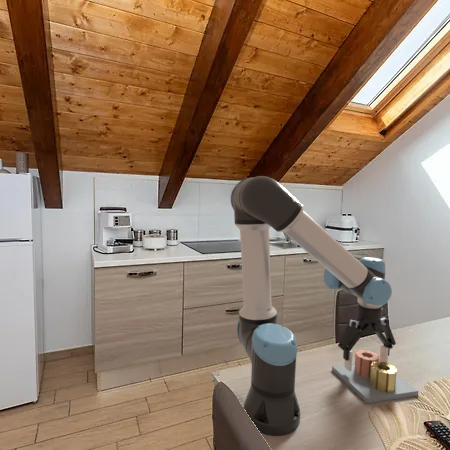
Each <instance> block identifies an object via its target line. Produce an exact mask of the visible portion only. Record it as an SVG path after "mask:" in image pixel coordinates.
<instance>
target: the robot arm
mask: <svg viewBox="0 0 450 450" xmlns="http://www.w3.org/2000/svg"><path fill="white" fill-rule="evenodd" d="M230 204H231V208H232V209H233V213H234V215H233V216H234V225H235V227H236V228H238V229H239V231H240V232H239V233H240V251H241V252H240V253H241V259H240V260H241V274H242V275H241V277H242V299H243V306H242V307H241V308H240V309H239V311H238V317H239V318H238V321H237V323H236V333H237V338H238V339H239V342H240V343H241V345H242V347H243V349H244V350H245V352H246V354H247V356H248V358H249V360H250V362H251V376H250V379H251V380H250V387H249V390H248V392H247V395H246V397H245V400H244V404H243V410H244V409H245V410H246V412H247V414H248V415H249V417H250V418H251V420H252V421H253V422H254V424H255V425H256V427H257V428H258V430H259V431H260V433H262V434H266V435H269V436H270V435H271V436H283V435H284V436H285V435H289V434H291V433H292V432H294V431H296V429H297V428H298V427H299V425H300V424H301V423H300V422H301V408H300V405H299V402H298V398H297V394H296V392H295V391H296V390H295V389H296V388H295V386H296V372H297V371H296V368H297V355H298V345H297V339H296V336H295V334H294V332H293V331H291V330H290V329H289V328H288V327H286V326H282V325H280V324H278V311H277V309H276V308H275V306H273V303H272V279H271V277H272V275H271V274H272V273H271V251H270V228H273V230H275V232H277V233H281V232H283V233H284V234H285V235H286V236H287V237H288V238H290V239H291V240H292V241H294V242H295V243H296V244H297V245H298V246H299V247H300V248H301V249H302V250H304V251H305V252H306V253H307V254H308V255H310V256H311V257H312V258H313V259H314V260H315V261H317V263H318V264H320V265H321V266H322V267H323V268H325V269H324V271H323V281H324V284H325V286H326V288H328V289H330V290H343V291H345V292H347V293H349V294H351V295H353V296H355V297H357V305H356V308H357V309H356V315H357V319H356V320H353V319H351V318H349V319H348V321H347V326H346V328H345V330H344V332H343V333H342V337H341V338H340V340H339V342H338V344H337V346H338V348H340V350H341V351H343V352H342V356H343V357H342V359H344V364H343V365H344V367H345V368H346V369H347V370H348V371H351V369H352V364H353V353H354V352H353V351H352V349H353V348H354V346H355V345H356V344H357V342H358V341H359V340H360V339H361V338H362V337H363V336H365V335H369V334H376V336H377V338H379V341H380V342H381V343H382V344H380V351H379V352H380V353H379V362H385V363H388V359H389V356H390V350H391V349H393V348H394V346H395V345H396V344H397V343H396V340H395V337H394V334H393V332H392V329H391V326H390V320H389V319H388V318H386V317H384V316H383V305H385V304H387V303H388V302H389V301H390V299H391V297H392V292H393V291H392V286H391V284H390V283H389V282H388V281H387V280H385V278H386V263H385V261H384V260H383V259H381V258H378V257H371V256H370V257H368V256H365V257H361V258H360V260H358V258H356V257H355V256H354V255H353V254H352V253H351V252H350V251H348V249H346V248H345V247H344V246H343V245H342V244H341V243H340V242H338V240H336V239H335V238H334V237H333V236H332V235H331V234H330V233H329V232H328V231H326V229H324V228H323V227H322V226H321V225H320V224H319V223H317V222H316V221H315V220H314V219H313V217H311V216H310V215H309V213H306V211H304V207H303V206H304V205H303V204H302V203H301V202H300V201H299V199H297V198H296V196H294V195H293V194H292V193H291V192H290V191H289V190H288V189H286V187H284V185H282V184H281V183H280V182H278V181H277V180H275V179H274V178H271V177H269V176H265V175H259V176H258V175H257V176H255V177H246V178H243V179H242V180H240V181H239V182H238V183H237V184H235V186H234V187H233V188H232V190H231V193H230ZM380 325H381V327H382V329H383V331H382V330H381V328H380ZM259 431H258V432H259Z"/></svg>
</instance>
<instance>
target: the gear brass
mask: <svg viewBox="0 0 450 450" xmlns="http://www.w3.org/2000/svg"><path fill="white" fill-rule="evenodd" d="M382 369H385V370H382ZM397 371H398V368H396V366H394V365H393V364H389V363H388V362H387V363H385V362H380V360H379V361H376V362H373V363H372V364H371V372H370V385H371V386H372V387H373V388H374V389H377V390H378V391H381V392H387V393H391V392H394V391H395V387H396V375H397Z"/></svg>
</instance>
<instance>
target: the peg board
mask: <svg viewBox="0 0 450 450" xmlns="http://www.w3.org/2000/svg"><path fill="white" fill-rule="evenodd" d="M364 357H367V356H364ZM368 358H369V357H368ZM344 365H345V364H339V365H332V366H331V371H332V372H333V373H334V374H335V375H337V377H338V378H340V380H342V381H343V383H345V384H346V386H348V387H349V388H350V389H351V390H352V391H353V392H354V393H355V394H356V395H357V396H358V397H359V398H360V399H362V401H364V403H366V404H370V403H371V404H372V403H378V402H385V401H390V400H397V399H405V398H412V397H417V395H418V396H419V390H418V389H416V388H415V387H414V386H413V385H411V384H409V382H407V381H406V380H404V378H403V379H402V378H401V377H400V376H399V375H397V374H396V387H395V391H394V392H391V393H387V392H381V391H378V390H377V389H374V388H373V387H372V386H371V385H370V378H369V377H368V378H366V377H362V376H361V375H358V374H357V373H356V372H355V371H354V370H355V363H352V369H351V371H348V370H347V369H346V368H345V367H344ZM382 370H385V369H382Z"/></svg>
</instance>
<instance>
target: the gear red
mask: <svg viewBox="0 0 450 450" xmlns="http://www.w3.org/2000/svg"><path fill="white" fill-rule="evenodd" d="M354 355H355V356H354V357H355V359H354V364H355V370H354V371H355V372H356V373H357V374H358V375H361V376H362V377H366V378H368V377H369V378H370V372H371V364H372V363H373V362H376V361H379V362H380V354H377V353H375V352H373V351H372V350H367V349H365V350H364V349H358V350H356V351H355V354H354ZM364 356H367V357H364ZM368 357H369V358H368Z"/></svg>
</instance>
